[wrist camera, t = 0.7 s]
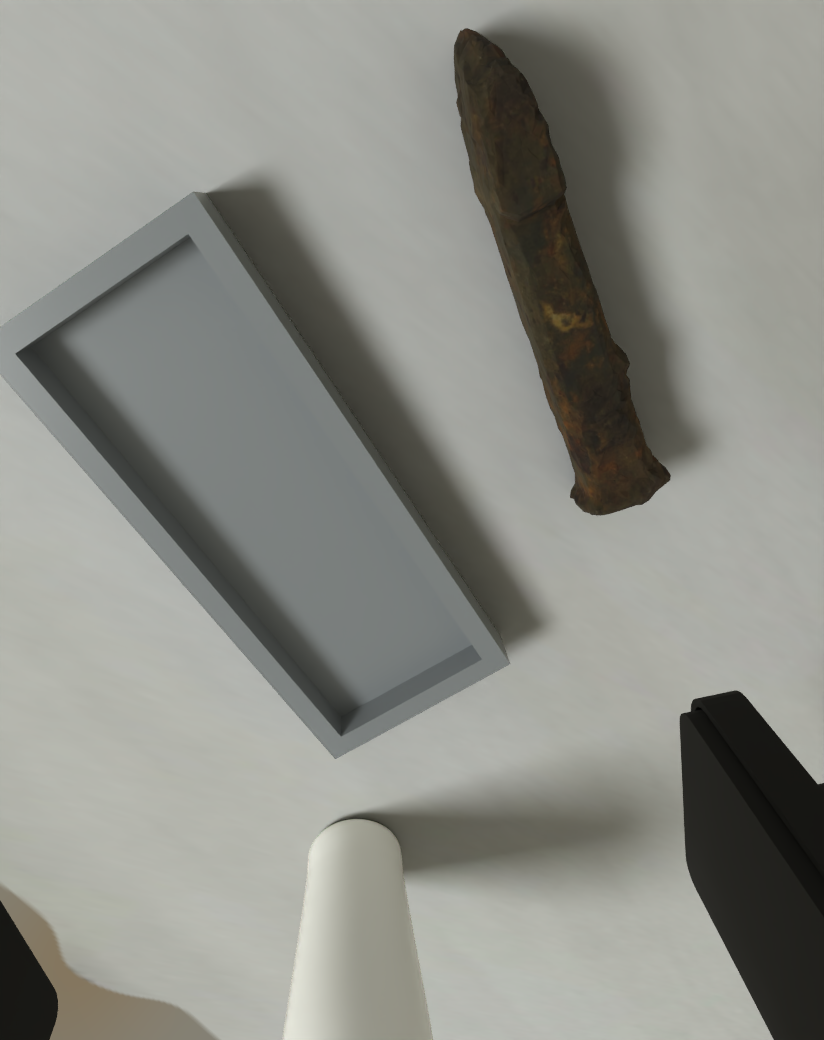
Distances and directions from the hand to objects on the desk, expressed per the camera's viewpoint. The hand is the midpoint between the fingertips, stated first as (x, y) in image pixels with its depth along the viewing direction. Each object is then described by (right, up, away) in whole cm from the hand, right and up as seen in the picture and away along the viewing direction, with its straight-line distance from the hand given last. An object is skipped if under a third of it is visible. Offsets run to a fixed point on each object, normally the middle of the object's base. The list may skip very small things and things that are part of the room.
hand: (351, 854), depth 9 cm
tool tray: (-5, +5, +23) cm, 24 cm away
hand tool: (+6, +14, +21) cm, 26 cm away
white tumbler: (-3, -15, +32) cm, 36 cm away
